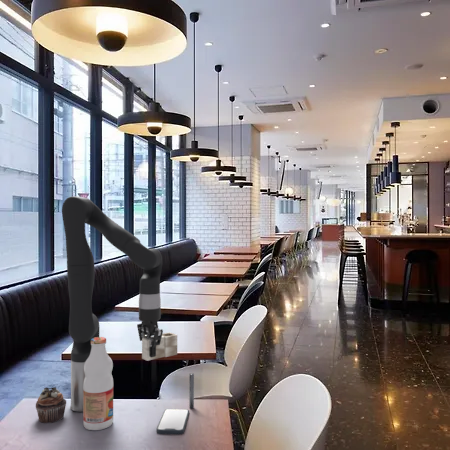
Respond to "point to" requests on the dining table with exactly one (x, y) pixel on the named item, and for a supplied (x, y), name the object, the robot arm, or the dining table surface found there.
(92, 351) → the fruit juice
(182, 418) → the smartphone
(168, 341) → the open-ended tube with peg
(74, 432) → the dining table surface
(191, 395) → the post
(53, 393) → the cupcake
